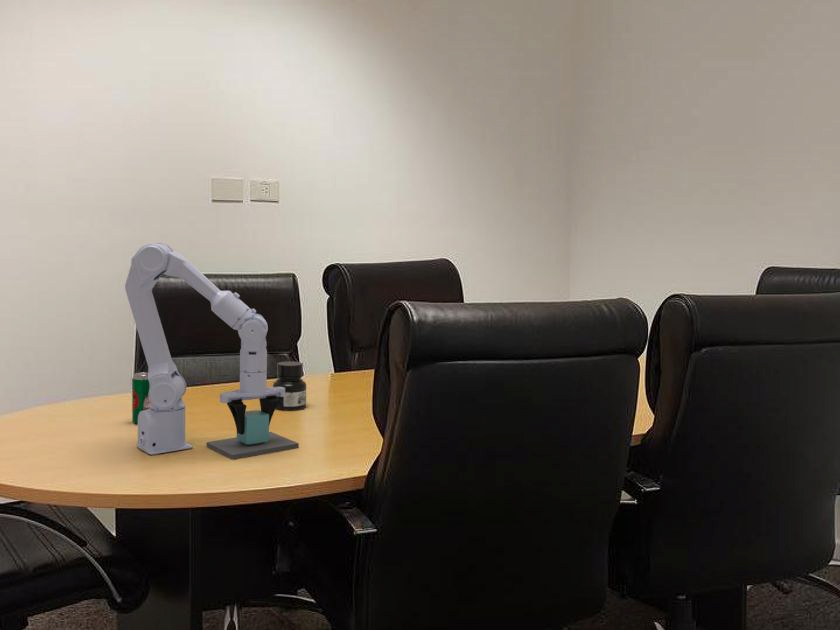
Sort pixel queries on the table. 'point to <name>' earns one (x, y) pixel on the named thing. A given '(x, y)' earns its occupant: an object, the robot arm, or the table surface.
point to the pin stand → (251, 446)
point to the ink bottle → (291, 386)
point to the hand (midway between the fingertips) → (252, 431)
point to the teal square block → (255, 427)
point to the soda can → (140, 394)
